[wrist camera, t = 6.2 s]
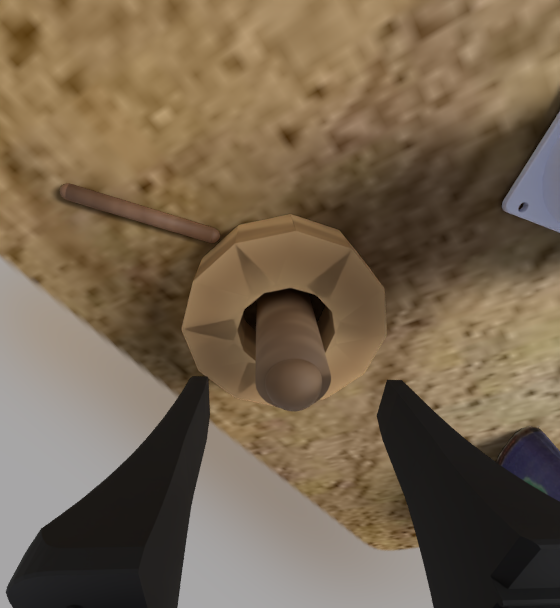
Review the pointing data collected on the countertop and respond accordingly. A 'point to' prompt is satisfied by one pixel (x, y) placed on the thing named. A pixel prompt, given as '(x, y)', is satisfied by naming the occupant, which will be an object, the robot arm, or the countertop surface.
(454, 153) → the countertop surface
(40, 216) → the countertop surface
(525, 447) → the flask
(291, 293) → the brown rounded cylinder
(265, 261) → the wooden ring with handle
